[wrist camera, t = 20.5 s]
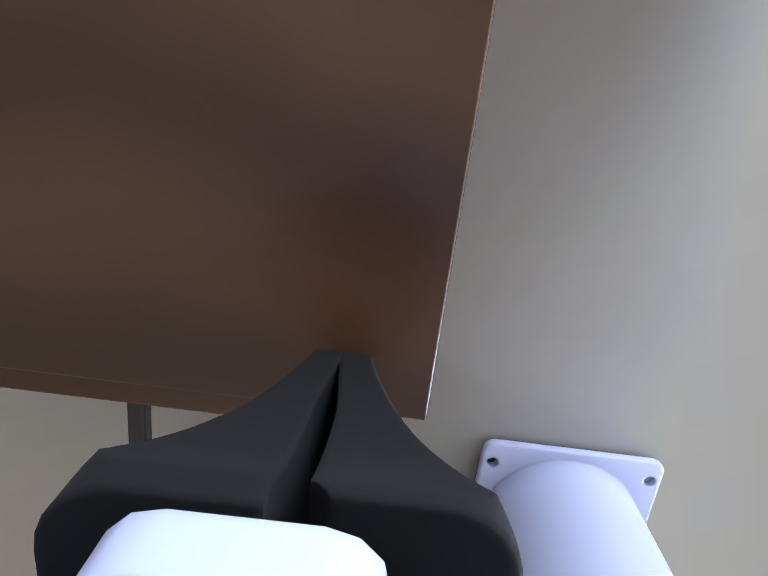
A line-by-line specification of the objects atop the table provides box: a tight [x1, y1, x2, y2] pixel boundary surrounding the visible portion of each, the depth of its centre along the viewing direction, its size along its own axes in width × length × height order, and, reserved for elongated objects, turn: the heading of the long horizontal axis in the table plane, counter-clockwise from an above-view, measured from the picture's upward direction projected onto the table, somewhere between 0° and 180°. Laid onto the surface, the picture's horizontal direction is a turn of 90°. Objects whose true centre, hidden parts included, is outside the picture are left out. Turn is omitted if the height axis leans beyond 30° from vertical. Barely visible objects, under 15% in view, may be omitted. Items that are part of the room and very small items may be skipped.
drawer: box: [0, 368, 253, 444], centre depth 18 cm, size 18×12×7 cm
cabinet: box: [0, 0, 496, 420], centre depth 17 cm, size 14×14×9 cm
